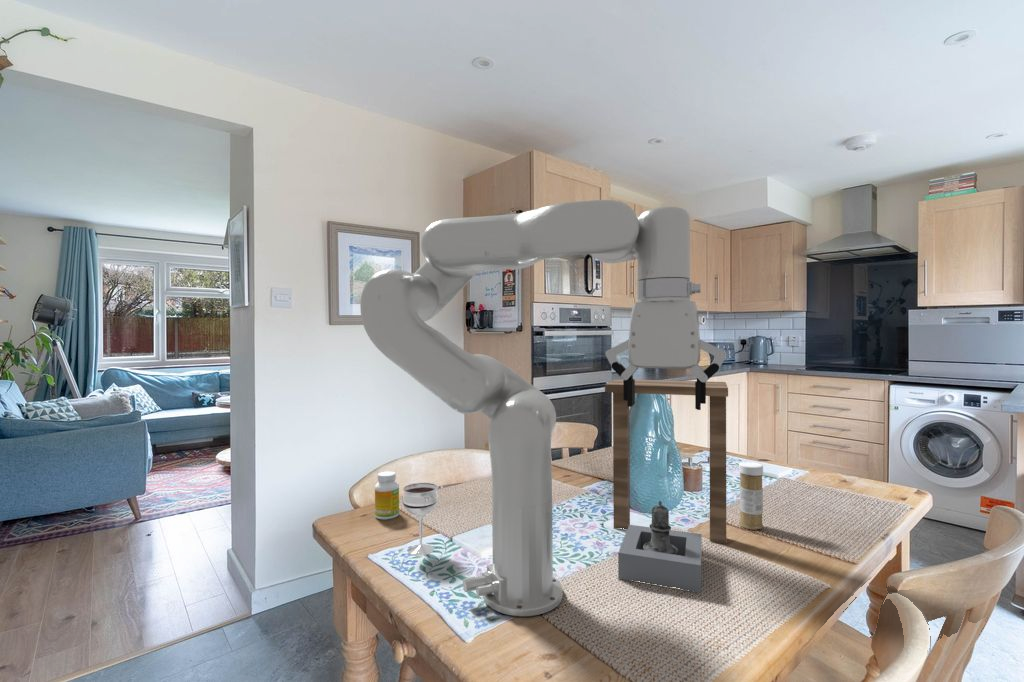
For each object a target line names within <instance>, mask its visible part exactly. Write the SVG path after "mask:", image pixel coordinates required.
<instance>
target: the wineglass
mask: <svg viewBox="0 0 1024 682" xmlns="http://www.w3.org/2000/svg"><path fill="white" fill-rule="evenodd" d="M438 488H439V486H438V485H437V484H435V483H432V482H414V483H410V484H408V485H405V486H404V487H402V490H403V492H404V494H403V496H402V505H403V507H404V509H405V510H406V511H407V512H409V513H410V514H411V515H414V516H416V517H417V518H418V532H419V544H416V545H413V546H411V547H409V548H408V549H407V553H408V554H409V555H412V556H415V557H416V556H418V557H419V556H425V555H429V554H432V553H433V552H434V550H435V548H434V546H433V545H430V544H427V543H426V544H424V543H423V527H424V526H423V524H424V523H423V518H424V517H425V516H426V515H427V514H430V513H431V512H432V511H433V510H434V509H435V508H436V507H437V504H438V502H439V501H438V500H439V494H438V492H437V490H438Z"/></svg>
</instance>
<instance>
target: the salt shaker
mask: <svg viewBox="0 0 1024 682" xmlns="http://www.w3.org/2000/svg"><path fill="white" fill-rule="evenodd" d="M657 503H658V504H657V505H654V506H653V507H652V508H651V523H650V524H649V527H650V528H651V541H650V542H647V543H645V544H644V545H643V549H644V550H647V551H653V552H660V553H667V554H673V555H676V554H677V553H678V549H677V548H676V547H675V546H674V545H672V544H670V540H669V530H672V527H671V525H669V524H670V520H669V519H670V515H669V513H670V512H669V509H668V508H667V507H666V506H664V505H663V502H662V500H659V501H658V502H657Z"/></svg>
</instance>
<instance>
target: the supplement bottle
mask: <svg viewBox="0 0 1024 682" xmlns="http://www.w3.org/2000/svg"><path fill="white" fill-rule="evenodd" d="M396 478H397V474H396V472H395V471H382V472H378V473H377V483H375V485H374V517H375V518H376V519H379V520H392V519H394V518H397V517H398V516H400V515H399V514H400V485H399V483H398V481H396Z"/></svg>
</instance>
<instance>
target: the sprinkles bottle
mask: <svg viewBox="0 0 1024 682" xmlns="http://www.w3.org/2000/svg"><path fill="white" fill-rule="evenodd" d="M738 467H739V468H738V469H739V470H738V471H739V475H740V476H739V478H740V479H739V480H740V481H739V482H740V483H739V512H740V514H739V516H740V518H739V525H740V526H741V527H742V528H745V529H747V530H752V531H754V530H755V531H758V530H757V529H760V530H762V529H763V528H764V525H763V513H764V505H763V504H764V501H763V500H764V498H763V497H764V489H763V476H764V466H763V464H761V463H759V462H753V461H743V462H740V463H739V465H738Z"/></svg>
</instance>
